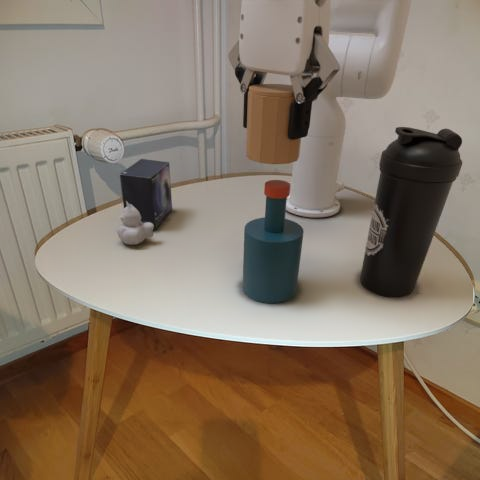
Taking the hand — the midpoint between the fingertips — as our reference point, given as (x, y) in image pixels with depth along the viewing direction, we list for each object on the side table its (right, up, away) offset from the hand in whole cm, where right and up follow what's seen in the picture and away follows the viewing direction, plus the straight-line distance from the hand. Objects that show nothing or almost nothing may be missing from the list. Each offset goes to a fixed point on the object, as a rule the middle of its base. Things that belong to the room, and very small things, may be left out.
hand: (274, 130), depth 53 cm
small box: (-23, -4, +32) cm, 40 cm away
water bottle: (+19, -18, +14) cm, 30 cm away
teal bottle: (0, -19, +12) cm, 23 cm away
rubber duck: (-23, -10, +24) cm, 35 cm away
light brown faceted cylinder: (0, -3, +2) cm, 3 cm away
